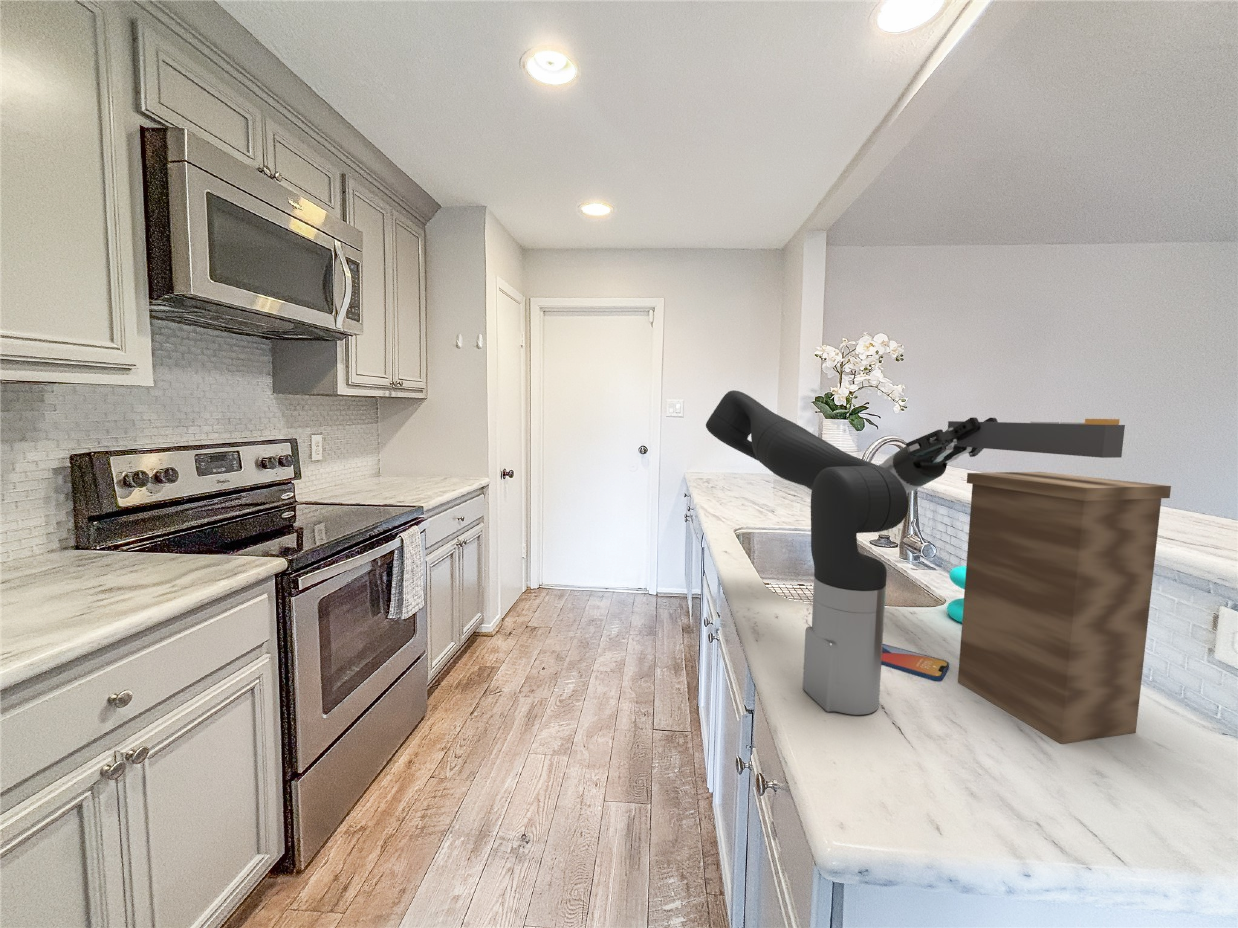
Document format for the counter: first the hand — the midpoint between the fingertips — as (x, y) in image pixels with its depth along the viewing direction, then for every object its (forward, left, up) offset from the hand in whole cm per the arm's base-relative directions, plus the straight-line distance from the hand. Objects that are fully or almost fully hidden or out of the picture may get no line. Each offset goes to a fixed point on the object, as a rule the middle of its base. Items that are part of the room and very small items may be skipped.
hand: (986, 422), depth 79 cm
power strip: (0, -6, -4) cm, 7 cm away
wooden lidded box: (0, -12, -39) cm, 41 cm away
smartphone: (-10, +5, -40) cm, 41 cm away
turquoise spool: (+18, +15, -40) cm, 46 cm away
